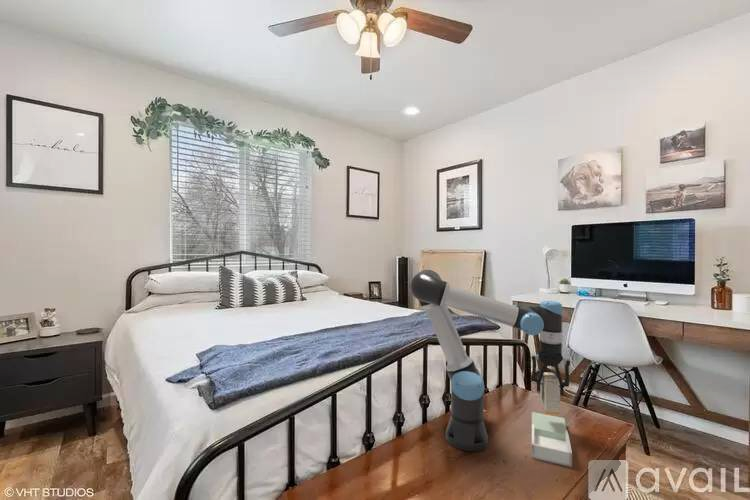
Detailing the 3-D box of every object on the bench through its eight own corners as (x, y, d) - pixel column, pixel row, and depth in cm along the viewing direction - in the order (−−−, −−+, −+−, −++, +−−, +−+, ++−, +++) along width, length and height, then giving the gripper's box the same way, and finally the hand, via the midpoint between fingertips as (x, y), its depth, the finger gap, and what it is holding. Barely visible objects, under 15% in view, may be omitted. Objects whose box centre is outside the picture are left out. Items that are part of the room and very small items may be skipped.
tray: (531, 457, 119) (531, 444, 119) (531, 435, 133) (531, 423, 133) (571, 467, 114) (572, 453, 114) (567, 443, 128) (567, 431, 128)
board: (531, 435, 133) (531, 427, 133) (531, 419, 146) (531, 411, 146) (567, 443, 128) (567, 435, 128) (564, 425, 141) (564, 418, 141)
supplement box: (559, 415, 131) (559, 380, 131) (545, 413, 132) (545, 379, 132) (553, 405, 139) (553, 372, 139) (540, 404, 140) (540, 371, 140)
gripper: (524, 341, 135) (523, 400, 136) (579, 347, 128) (578, 410, 128) (524, 336, 142) (524, 393, 142) (577, 342, 135) (575, 402, 135)
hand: (549, 401), depth 135 cm, fingers closed on supplement box, 5 cm apart
